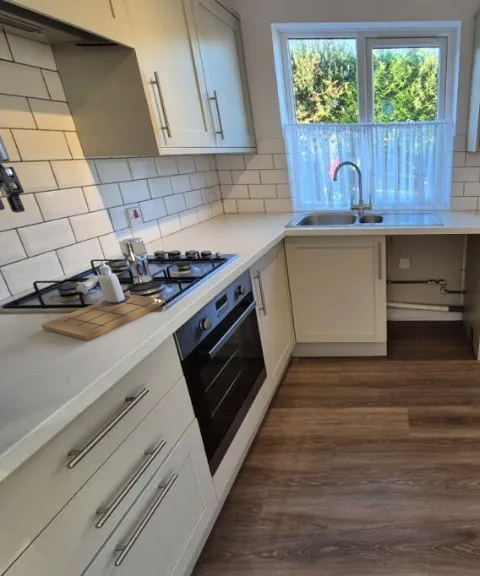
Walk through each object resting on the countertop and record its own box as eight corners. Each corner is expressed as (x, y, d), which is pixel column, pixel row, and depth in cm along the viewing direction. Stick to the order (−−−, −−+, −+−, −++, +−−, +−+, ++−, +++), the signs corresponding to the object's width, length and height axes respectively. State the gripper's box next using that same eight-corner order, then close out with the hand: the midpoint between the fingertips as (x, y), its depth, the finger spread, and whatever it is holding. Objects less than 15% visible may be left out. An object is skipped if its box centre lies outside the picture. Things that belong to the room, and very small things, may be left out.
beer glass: (126, 284, 123) (112, 242, 118) (144, 277, 130) (132, 236, 124) (141, 286, 121) (128, 243, 116) (159, 279, 127) (147, 238, 122)
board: (87, 341, 89) (85, 335, 88) (43, 329, 95) (40, 324, 95) (165, 304, 108) (164, 299, 107) (124, 296, 114) (122, 292, 113)
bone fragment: (102, 282, 126) (99, 272, 125) (89, 294, 116) (85, 284, 115) (87, 284, 125) (83, 274, 124) (72, 296, 115) (68, 286, 114)
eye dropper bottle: (122, 295, 111) (109, 258, 106) (125, 300, 107) (112, 262, 102) (105, 299, 108) (91, 261, 104) (108, 305, 104) (94, 266, 100)
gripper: (-61, 141, 82) (-27, 212, 88) (-27, 140, 77) (6, 215, 83) (-18, 140, 88) (11, 207, 95) (16, 139, 83) (44, 209, 90)
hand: (9, 211), depth 89 cm, fingers open, 8 cm apart
